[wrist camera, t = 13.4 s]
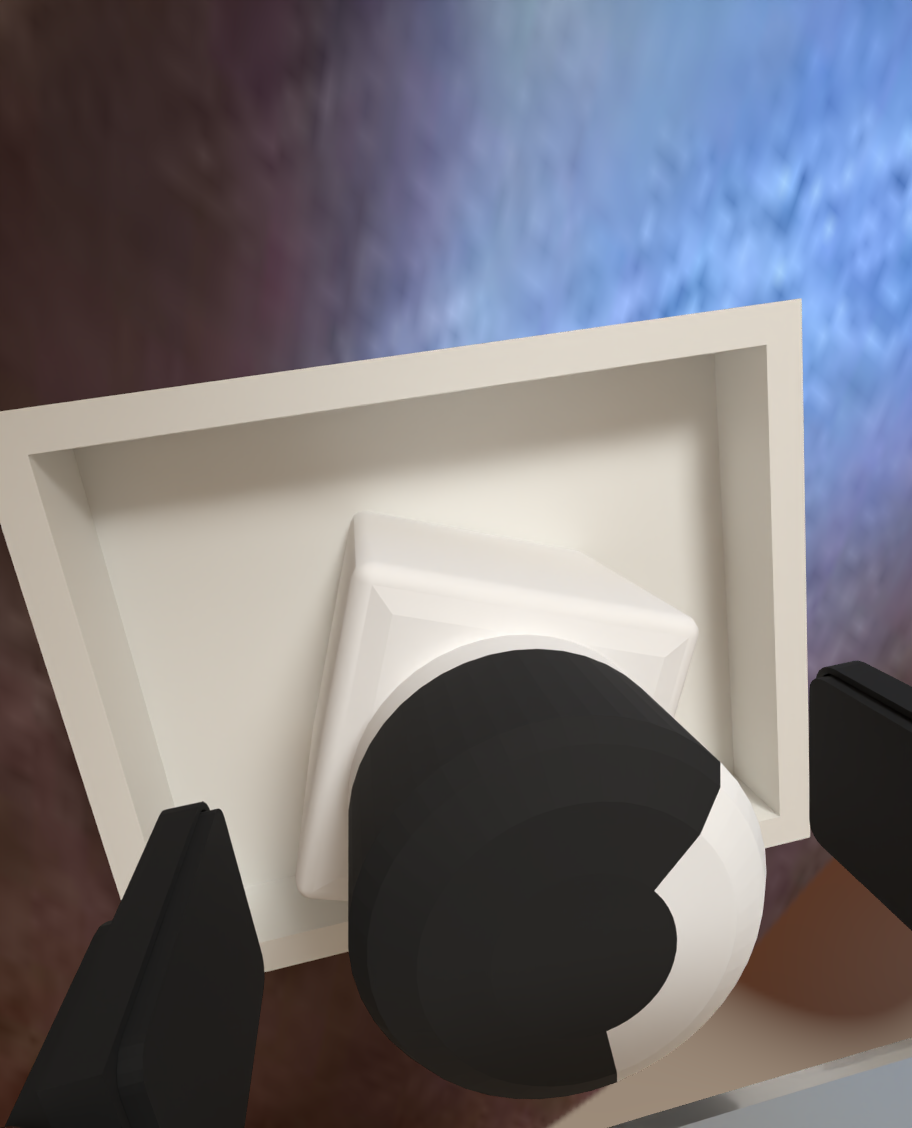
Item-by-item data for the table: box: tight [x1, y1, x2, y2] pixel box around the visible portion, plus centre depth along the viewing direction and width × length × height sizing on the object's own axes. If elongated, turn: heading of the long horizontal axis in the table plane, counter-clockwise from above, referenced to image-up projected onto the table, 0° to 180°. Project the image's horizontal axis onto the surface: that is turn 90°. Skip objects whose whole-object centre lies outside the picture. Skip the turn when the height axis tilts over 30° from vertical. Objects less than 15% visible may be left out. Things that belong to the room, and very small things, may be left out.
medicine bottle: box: [295, 511, 766, 1099], centre depth 14 cm, size 7×7×12 cm
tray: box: [0, 299, 810, 972], centre depth 19 cm, size 16×20×3 cm
